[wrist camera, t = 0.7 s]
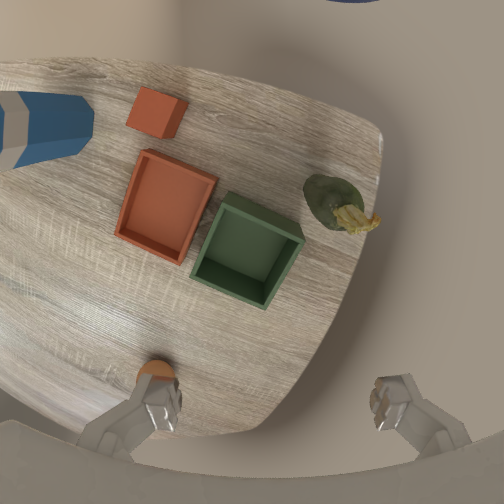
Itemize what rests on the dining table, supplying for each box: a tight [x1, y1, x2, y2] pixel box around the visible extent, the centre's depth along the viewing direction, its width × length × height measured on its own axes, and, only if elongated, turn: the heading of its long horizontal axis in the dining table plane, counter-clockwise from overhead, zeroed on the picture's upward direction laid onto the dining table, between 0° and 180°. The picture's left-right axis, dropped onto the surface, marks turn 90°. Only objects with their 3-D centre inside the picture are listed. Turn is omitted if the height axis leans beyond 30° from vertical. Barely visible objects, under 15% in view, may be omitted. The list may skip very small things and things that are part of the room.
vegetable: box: [303, 174, 381, 235], centre depth 28 cm, size 4×4×20 cm
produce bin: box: [189, 191, 306, 310], centre depth 38 cm, size 10×10×6 cm
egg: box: [136, 360, 175, 384], centre depth 46 cm, size 7×7×9 cm
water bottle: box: [0, 91, 94, 172], centre depth 24 cm, size 9×9×25 cm
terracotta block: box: [126, 86, 189, 139], centre depth 33 cm, size 5×5×5 cm
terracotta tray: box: [114, 148, 219, 266], centre depth 38 cm, size 12×10×3 cm
